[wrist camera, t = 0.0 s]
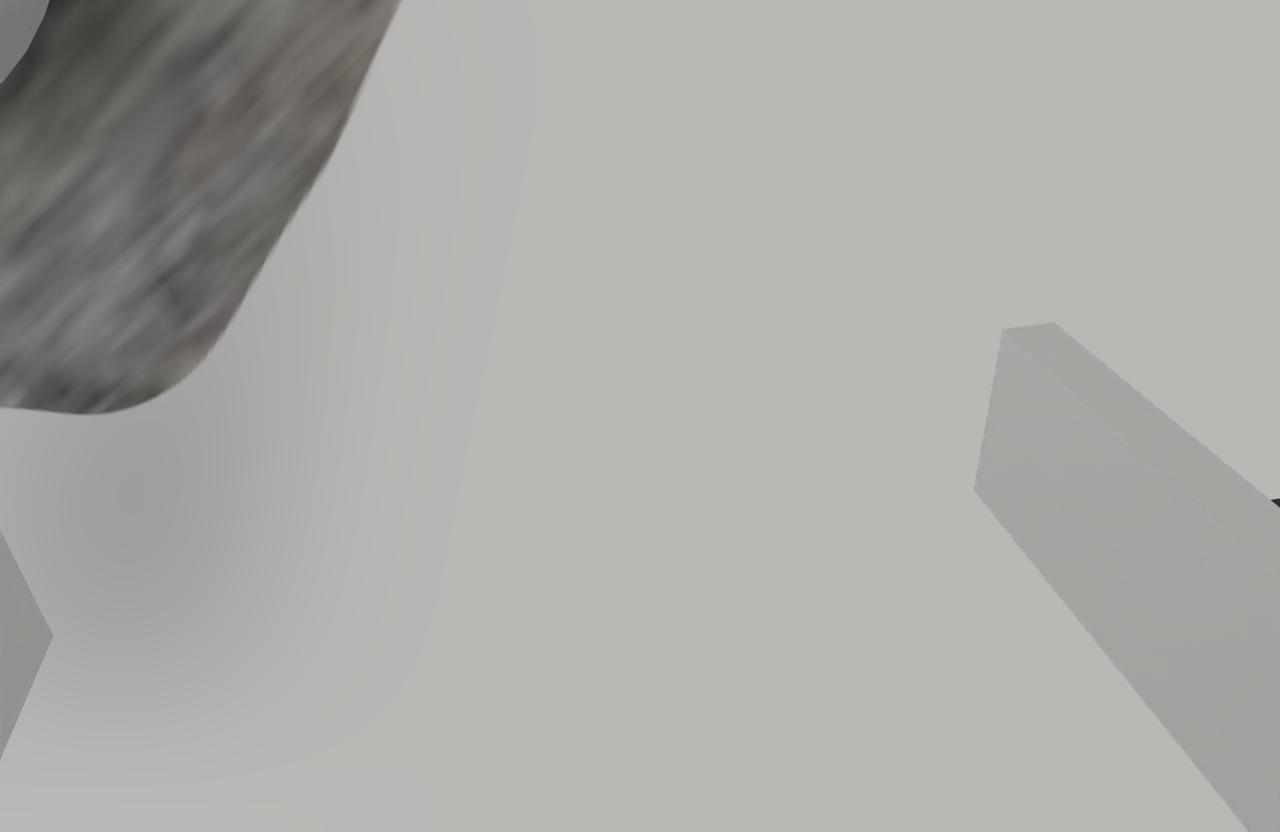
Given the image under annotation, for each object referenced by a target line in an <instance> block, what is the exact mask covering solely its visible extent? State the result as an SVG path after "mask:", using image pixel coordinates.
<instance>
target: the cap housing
mask: <svg viewBox="0 0 1280 832" xmlns="http://www.w3.org/2000/svg"><path fill="white" fill-rule="evenodd" d="M49 1H50V0H0V84H1V83H2V82H3V81H4V80H5V78H6V77H7V76H8V75H9V73H10V72H11V71H12V69H13V68H14V67H15V66H16V64H17V63H18V62H19V60H20V59H21V58H22V57H23V55H24V54H25V53H26V51H27V50H28V48H29V46H30V44H31V42H32V40H33V38H34V36H35V34H36V32H37V30H38V28H39V26H40V24H41V22H42V20H43V18H44V16H45V13H46V10H47V7H48V4H49Z"/></svg>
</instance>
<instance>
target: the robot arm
mask: <svg viewBox="0 0 1280 832" xmlns="http://www.w3.org/2000/svg"><path fill="white" fill-rule="evenodd" d="M974 492H975V493H976V494H977V495H978V496H979V498H980V499H981V500H982V502H983V503H984V504H985V505H986V507H987V508H988V509H989V510H990V511H991V513H992V514H993V515H994V516H995V518H996V519H997V520H998V521H999V523H1000V524H1001V525H1002V526H1003V528H1004V529H1005V530H1006V531H1007V533H1008V534H1009V535H1010V536H1011V538H1012V539H1013V540H1014V541H1015V543H1016V544H1017V545H1018V546H1019V548H1020V549H1021V550H1022V551H1023V552H1024V554H1025V555H1026V556H1027V557H1028V559H1029V560H1030V561H1031V562H1032V564H1033V565H1034V566H1035V567H1036V569H1037V570H1038V571H1039V572H1040V573H1041V575H1042V576H1043V577H1044V578H1045V580H1046V581H1047V582H1048V584H1049V585H1050V586H1051V587H1052V588H1053V590H1054V591H1055V592H1056V593H1057V595H1058V596H1059V597H1060V598H1061V600H1062V601H1063V602H1064V603H1065V605H1066V606H1067V607H1068V608H1069V610H1070V611H1071V612H1072V613H1073V615H1074V616H1075V617H1076V618H1077V620H1078V621H1079V622H1080V623H1081V625H1082V626H1083V627H1084V628H1085V629H1086V631H1087V632H1088V633H1089V634H1090V636H1091V637H1092V638H1093V639H1094V641H1095V642H1096V643H1097V644H1098V645H1099V647H1100V648H1101V649H1102V651H1103V652H1104V653H1105V654H1106V656H1107V657H1108V658H1109V659H1110V661H1111V662H1112V663H1113V664H1114V665H1115V667H1116V668H1117V669H1118V670H1119V672H1120V673H1121V674H1122V675H1123V677H1124V678H1125V679H1126V680H1127V682H1128V683H1129V684H1130V685H1131V687H1132V688H1133V689H1134V690H1135V692H1136V693H1137V694H1138V695H1139V697H1140V698H1141V699H1142V700H1143V701H1144V703H1145V704H1146V705H1147V706H1148V708H1149V709H1150V710H1151V711H1152V713H1153V714H1154V715H1155V716H1156V718H1157V719H1158V720H1159V721H1160V723H1161V724H1162V725H1163V726H1164V727H1165V729H1166V730H1167V731H1168V733H1169V734H1170V735H1171V736H1172V737H1173V739H1174V740H1175V741H1176V742H1177V744H1178V745H1179V746H1180V747H1181V749H1182V750H1183V751H1184V752H1185V754H1186V755H1187V756H1188V757H1189V759H1190V760H1191V761H1192V762H1193V764H1194V765H1195V766H1196V767H1197V769H1198V770H1199V771H1200V772H1201V774H1202V775H1203V776H1204V777H1205V778H1206V780H1207V781H1208V782H1209V783H1210V785H1211V786H1212V787H1213V788H1214V790H1215V791H1216V792H1217V793H1218V794H1219V796H1220V797H1221V798H1222V800H1223V801H1224V802H1225V803H1226V805H1227V806H1228V807H1229V808H1230V809H1231V811H1232V812H1233V813H1234V815H1236V817H1237V818H1238V819H1239V821H1240V822H1241V823H1242V824H1243V826H1244V827H1245V828H1246V829H1247V830H1248V832H1280V499H1274V500H1270V499H1268V498H1267V497H1266V496H1265V495H1264V494H1262V493H1261V492H1260V491H1259V490H1258V489H1256V488H1255V487H1254V486H1253V485H1251V484H1250V483H1249V482H1248V481H1247V480H1245V479H1244V478H1243V477H1242V476H1240V475H1239V474H1238V473H1237V472H1236V471H1234V470H1233V469H1232V468H1231V467H1230V466H1228V465H1227V464H1226V463H1224V462H1223V461H1222V460H1221V459H1220V458H1219V457H1217V456H1216V455H1215V454H1214V453H1213V452H1211V451H1210V450H1209V449H1207V448H1206V447H1205V446H1204V445H1202V443H1200V442H1199V441H1198V440H1197V439H1196V438H1194V437H1193V436H1192V435H1190V434H1189V433H1188V432H1187V431H1186V430H1185V429H1183V428H1182V427H1181V426H1180V425H1178V424H1177V423H1176V422H1175V421H1174V420H1172V419H1171V418H1170V417H1169V416H1168V415H1166V414H1165V413H1164V412H1162V410H1160V409H1159V408H1158V407H1157V406H1155V405H1154V404H1153V403H1152V402H1151V401H1149V400H1148V399H1147V398H1145V397H1144V396H1143V395H1142V394H1141V393H1140V392H1138V391H1137V390H1136V389H1135V388H1134V387H1132V386H1131V385H1130V384H1129V383H1127V382H1126V381H1125V380H1124V379H1122V378H1121V377H1120V376H1119V375H1118V374H1116V373H1115V372H1114V371H1113V370H1112V369H1110V368H1109V367H1108V366H1107V365H1106V364H1104V363H1103V362H1102V361H1101V360H1100V359H1098V358H1097V357H1096V356H1095V355H1093V354H1092V353H1090V351H1089V350H1087V349H1086V348H1085V347H1084V346H1082V345H1081V344H1080V343H1079V342H1078V341H1076V340H1075V339H1074V338H1073V337H1072V336H1070V335H1069V334H1068V333H1066V332H1065V331H1064V330H1063V329H1062V328H1061V327H1059V326H1058V325H1057V324H1056V323H1054V322H1053V323H1045V324H1038V325H1030V326H1023V327H1015V328H1008V329H1002V336H1001V341H1000V346H999V352H998V358H997V363H996V369H995V375H994V380H993V386H992V391H991V397H990V403H989V409H988V414H987V419H986V425H985V430H984V437H983V442H982V447H981V453H980V458H979V464H978V470H977V475H976V481H975V487H974ZM52 637H53V634H52V632H51V631H50V629H49V627H48V625H47V623H46V621H45V619H44V617H43V615H42V613H41V611H40V609H39V607H38V605H37V603H36V601H35V599H34V597H33V595H32V593H31V591H30V589H29V587H28V585H27V583H26V581H25V579H24V577H23V575H22V573H21V571H20V569H19V567H18V565H17V563H16V561H15V559H14V557H13V555H12V553H11V551H10V549H9V547H8V545H7V543H6V541H5V539H4V537H3V535H2V533H1V531H0V758H1V756H2V754H3V751H4V749H5V747H6V744H7V742H8V740H9V737H10V735H11V733H12V730H13V728H14V726H15V723H16V721H17V719H18V716H19V714H20V712H21V709H22V707H23V705H24V702H25V700H26V698H27V695H28V693H29V691H30V689H31V686H32V684H33V681H34V679H35V676H36V674H37V672H38V670H39V667H40V665H41V663H42V660H43V658H44V656H45V653H46V651H47V649H48V646H49V644H50V642H51V640H52Z"/></svg>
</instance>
